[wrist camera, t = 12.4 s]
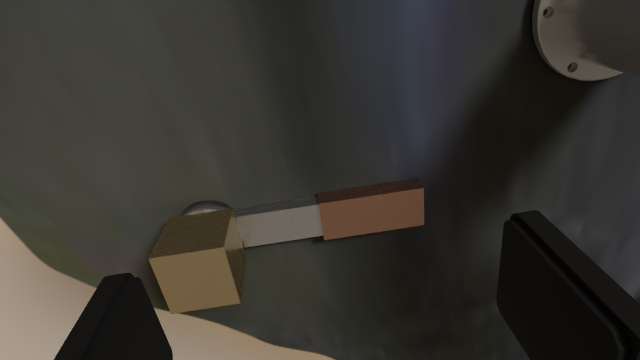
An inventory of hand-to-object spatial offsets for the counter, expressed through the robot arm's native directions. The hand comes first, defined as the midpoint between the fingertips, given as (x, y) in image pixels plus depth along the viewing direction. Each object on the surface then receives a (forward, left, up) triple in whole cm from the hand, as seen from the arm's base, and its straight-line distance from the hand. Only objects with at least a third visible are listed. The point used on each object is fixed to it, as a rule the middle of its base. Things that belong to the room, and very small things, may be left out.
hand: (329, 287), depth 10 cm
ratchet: (+3, +14, -26) cm, 30 cm away
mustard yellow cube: (+11, +14, -24) cm, 30 cm away
